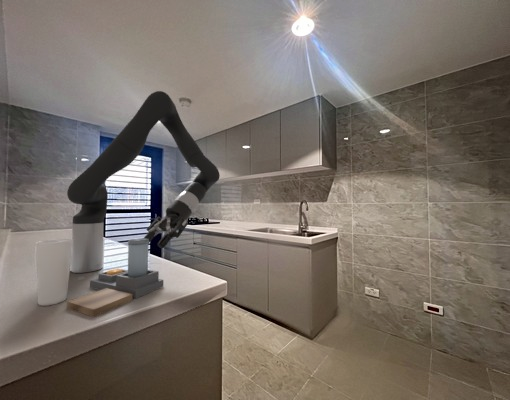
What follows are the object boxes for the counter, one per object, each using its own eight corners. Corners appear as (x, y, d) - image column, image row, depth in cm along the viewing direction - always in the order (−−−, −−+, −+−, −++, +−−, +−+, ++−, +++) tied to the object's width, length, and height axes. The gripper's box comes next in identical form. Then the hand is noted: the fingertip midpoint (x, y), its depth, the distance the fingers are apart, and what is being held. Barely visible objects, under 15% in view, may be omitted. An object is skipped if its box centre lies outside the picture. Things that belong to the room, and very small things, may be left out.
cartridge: (122, 283, 60) (123, 240, 61) (139, 278, 65) (140, 238, 66) (136, 286, 58) (136, 241, 59) (152, 280, 63) (152, 239, 64)
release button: (103, 278, 65) (103, 271, 65) (116, 274, 68) (116, 268, 68) (112, 280, 63) (112, 273, 63) (125, 276, 67) (125, 269, 67)
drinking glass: (36, 311, 49) (38, 244, 49) (30, 302, 53) (32, 241, 53) (74, 300, 54) (75, 240, 55) (66, 294, 58) (68, 237, 59)
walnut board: (66, 307, 50) (67, 301, 50) (106, 293, 59) (106, 288, 59) (93, 316, 46) (93, 309, 47) (132, 300, 55) (132, 294, 55)
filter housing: (89, 287, 63) (90, 271, 63) (119, 278, 71) (120, 264, 72) (135, 298, 56) (136, 280, 56) (163, 286, 64) (163, 271, 64)
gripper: (163, 199, 77) (130, 235, 67) (191, 198, 69) (157, 239, 59) (176, 214, 81) (146, 250, 71) (203, 214, 74) (173, 255, 64)
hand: (151, 245), depth 65 cm, fingers open, 8 cm apart
